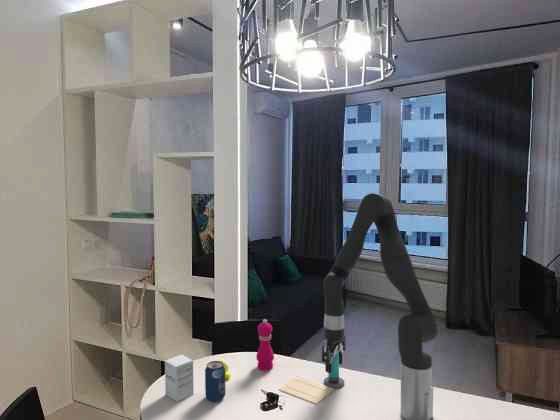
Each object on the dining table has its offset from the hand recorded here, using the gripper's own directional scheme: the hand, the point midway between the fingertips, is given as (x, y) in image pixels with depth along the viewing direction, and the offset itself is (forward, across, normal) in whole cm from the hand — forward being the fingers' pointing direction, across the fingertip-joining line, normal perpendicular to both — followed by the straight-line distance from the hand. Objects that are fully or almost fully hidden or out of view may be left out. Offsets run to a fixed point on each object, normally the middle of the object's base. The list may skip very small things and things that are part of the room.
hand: (334, 367), depth 143 cm
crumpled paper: (+6, -22, +38) cm, 44 cm away
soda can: (+6, -33, +29) cm, 44 cm away
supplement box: (+6, -39, +41) cm, 57 cm away
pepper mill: (+6, -5, +29) cm, 30 cm away
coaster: (+6, 0, 0) cm, 6 cm away
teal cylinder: (+5, 0, 0) cm, 5 cm away
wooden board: (+6, -10, +6) cm, 13 cm away
